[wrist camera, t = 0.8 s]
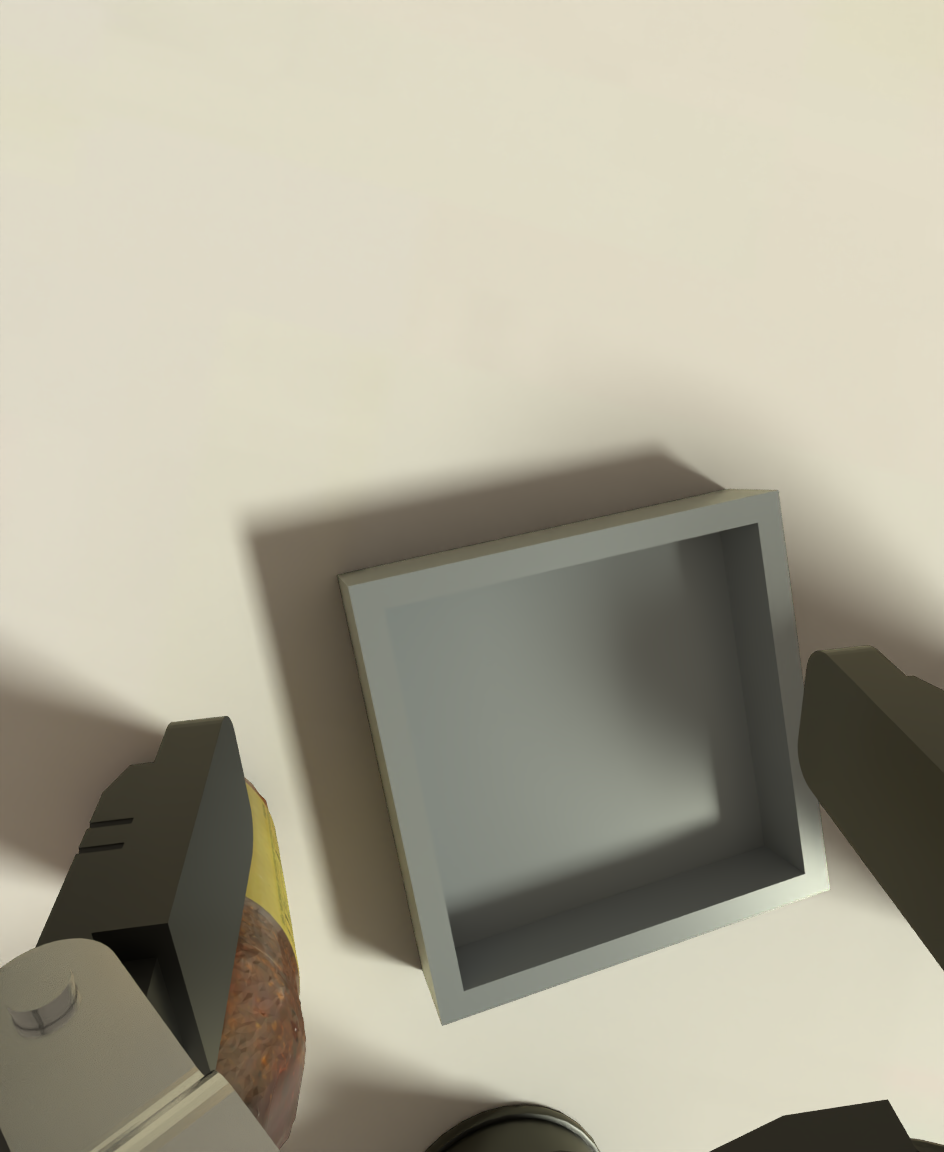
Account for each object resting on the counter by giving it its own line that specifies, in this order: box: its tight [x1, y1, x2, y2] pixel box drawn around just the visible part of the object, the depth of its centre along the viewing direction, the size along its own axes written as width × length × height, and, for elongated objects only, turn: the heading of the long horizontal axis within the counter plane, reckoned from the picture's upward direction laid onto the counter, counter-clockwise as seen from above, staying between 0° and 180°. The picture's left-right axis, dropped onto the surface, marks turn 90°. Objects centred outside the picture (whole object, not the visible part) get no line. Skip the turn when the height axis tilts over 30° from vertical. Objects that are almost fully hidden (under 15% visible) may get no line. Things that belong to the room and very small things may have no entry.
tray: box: [337, 489, 830, 1026], centre depth 32 cm, size 16×16×4 cm
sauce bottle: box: [89, 778, 306, 1149], centre depth 21 cm, size 6×6×20 cm
